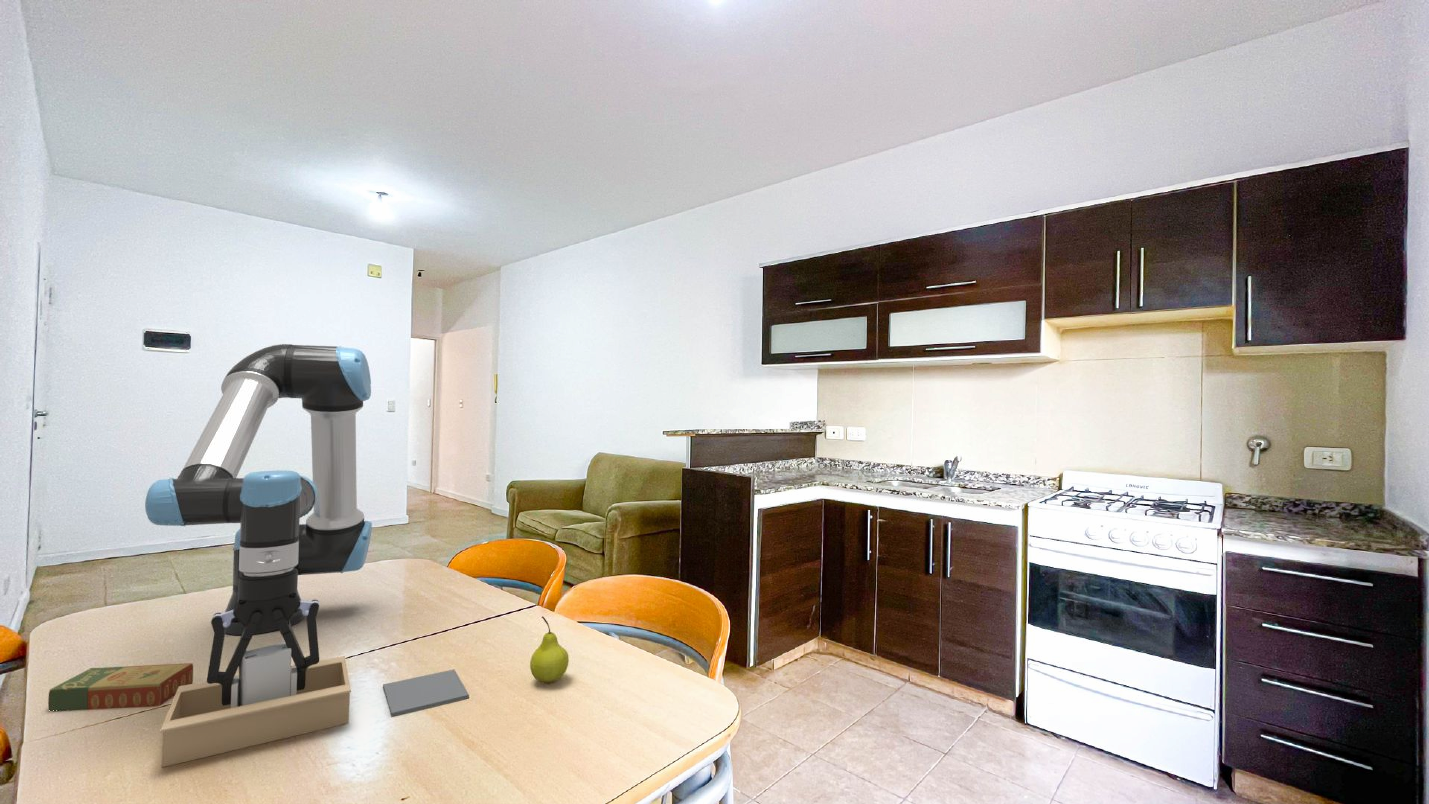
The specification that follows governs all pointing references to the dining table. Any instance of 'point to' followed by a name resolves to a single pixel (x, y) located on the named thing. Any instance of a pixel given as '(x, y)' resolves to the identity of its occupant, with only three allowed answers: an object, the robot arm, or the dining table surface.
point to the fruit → (549, 659)
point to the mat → (424, 692)
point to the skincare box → (265, 674)
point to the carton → (120, 687)
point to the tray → (253, 715)
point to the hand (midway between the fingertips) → (264, 716)
